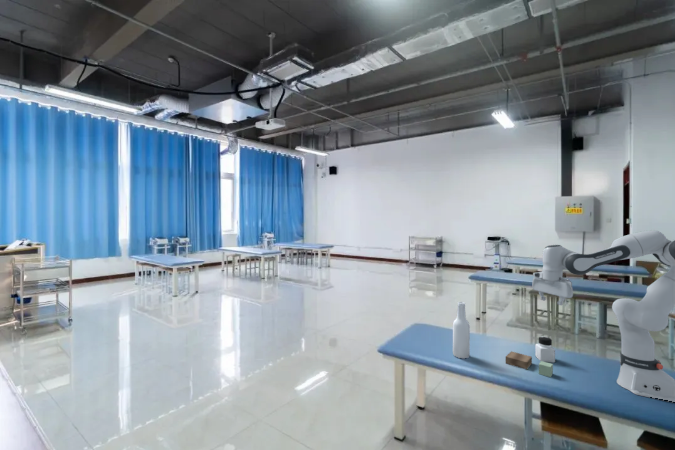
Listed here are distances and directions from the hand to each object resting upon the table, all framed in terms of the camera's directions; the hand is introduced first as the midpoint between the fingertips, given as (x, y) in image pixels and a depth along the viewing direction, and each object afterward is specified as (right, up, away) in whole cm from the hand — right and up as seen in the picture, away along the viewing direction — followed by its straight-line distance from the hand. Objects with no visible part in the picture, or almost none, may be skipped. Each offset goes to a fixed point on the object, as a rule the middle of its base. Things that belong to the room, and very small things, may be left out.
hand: (551, 302), depth 165 cm
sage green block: (-8, -34, -8) cm, 35 cm away
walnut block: (-15, -34, +4) cm, 37 cm away
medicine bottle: (+3, -34, +9) cm, 35 cm away
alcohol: (-42, -34, +13) cm, 55 cm away
